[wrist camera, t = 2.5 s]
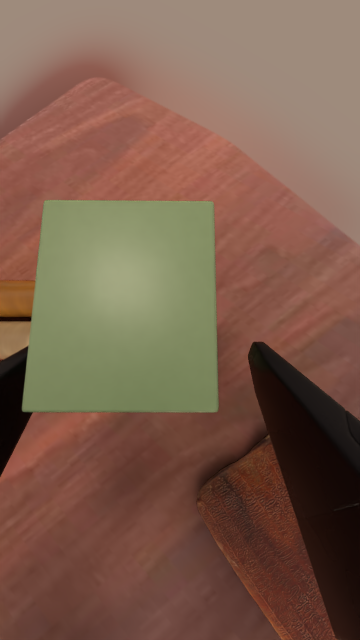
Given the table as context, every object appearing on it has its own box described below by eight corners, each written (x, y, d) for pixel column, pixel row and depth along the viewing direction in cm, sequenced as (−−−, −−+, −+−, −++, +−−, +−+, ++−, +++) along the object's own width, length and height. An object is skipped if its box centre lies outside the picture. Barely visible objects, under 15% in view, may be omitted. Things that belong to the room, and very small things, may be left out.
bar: (188, 359, 17) (219, 413, 4) (141, 359, 17) (19, 414, 4) (188, 304, 18) (214, 199, 5) (143, 304, 17) (42, 198, 5)
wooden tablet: (186, 491, 16) (187, 509, 14) (275, 418, 16) (286, 427, 15) (409, 824, 13) (443, 895, 11) (503, 718, 14) (548, 770, 12)
